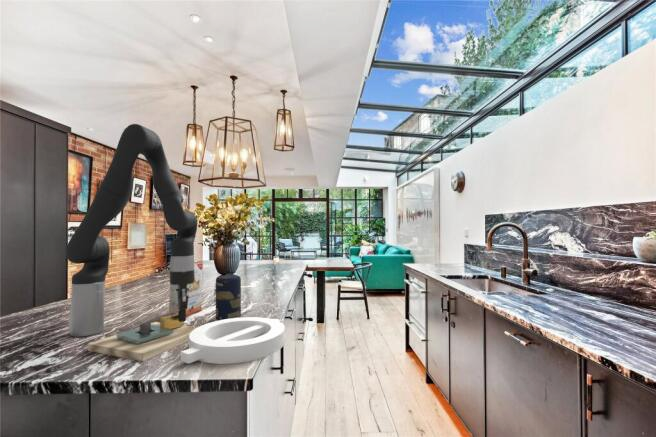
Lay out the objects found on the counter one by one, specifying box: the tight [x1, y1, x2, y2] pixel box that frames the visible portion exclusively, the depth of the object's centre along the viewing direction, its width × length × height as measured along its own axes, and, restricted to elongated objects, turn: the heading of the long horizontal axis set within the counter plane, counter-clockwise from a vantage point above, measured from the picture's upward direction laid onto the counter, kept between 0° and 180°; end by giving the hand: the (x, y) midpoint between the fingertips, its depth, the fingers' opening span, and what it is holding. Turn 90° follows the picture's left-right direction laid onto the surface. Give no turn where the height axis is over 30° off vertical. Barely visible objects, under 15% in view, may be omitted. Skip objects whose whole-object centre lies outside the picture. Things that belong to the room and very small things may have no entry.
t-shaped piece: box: [116, 313, 185, 344], centre depth 99 cm, size 18×11×4 cm, turn 150°
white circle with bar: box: [180, 316, 286, 365], centre depth 95 cm, size 28×28×5 cm
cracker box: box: [168, 262, 204, 317], centre depth 130 cm, size 14×6×21 cm, turn 168°
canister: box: [215, 273, 242, 321], centre depth 122 cm, size 10×10×18 cm
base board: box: [87, 312, 199, 362], centre depth 97 cm, size 22×23×6 cm
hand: (182, 321), depth 104 cm, fingers closed
